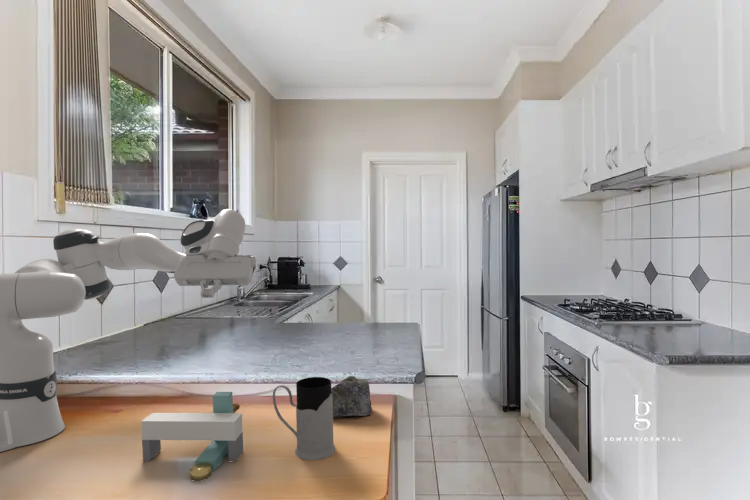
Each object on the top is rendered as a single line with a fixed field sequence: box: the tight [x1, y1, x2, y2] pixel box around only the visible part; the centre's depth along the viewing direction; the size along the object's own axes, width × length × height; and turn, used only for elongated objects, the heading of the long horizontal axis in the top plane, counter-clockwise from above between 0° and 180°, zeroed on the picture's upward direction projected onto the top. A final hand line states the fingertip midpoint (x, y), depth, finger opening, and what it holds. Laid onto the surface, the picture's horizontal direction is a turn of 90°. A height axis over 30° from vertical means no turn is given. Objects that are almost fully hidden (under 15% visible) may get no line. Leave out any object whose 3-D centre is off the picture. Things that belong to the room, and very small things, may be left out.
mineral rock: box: [331, 375, 373, 418], centre depth 123 cm, size 13×11×10 cm
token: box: [189, 463, 212, 482], centre depth 93 cm, size 4×4×2 cm
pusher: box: [194, 391, 234, 471], centre depth 101 cm, size 4×12×12 cm, turn 176°
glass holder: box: [272, 376, 336, 461], centre depth 103 cm, size 9×14×15 cm, turn 74°
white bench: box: [140, 412, 244, 462], centre depth 101 cm, size 20×4×8 cm, turn 87°
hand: (207, 296), depth 121 cm, fingers closed
